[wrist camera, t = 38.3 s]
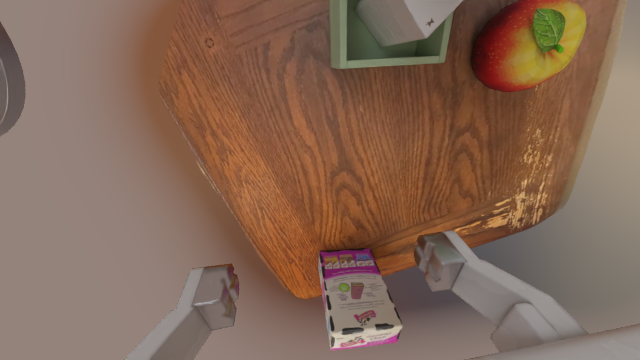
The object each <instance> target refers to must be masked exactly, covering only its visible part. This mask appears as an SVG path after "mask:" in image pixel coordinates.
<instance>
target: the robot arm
mask: <svg viewBox="0 0 640 360" xmlns="http://www.w3.org/2000/svg"><path fill="white" fill-rule="evenodd" d="M417 242H418V245H417V246H416V247H415V250H414V258H415V261H416V264H417V266H418V267H419V269H420V270H422V271H423V272H425V277H424V278H425V279H426V281H427V283H428V285H429V287H430V288H431V290H432V291H433V292H434V291H441V290H447V289H452V291H453V292H454V293H456V294H457V295H458V296H459V297H461V298H462V299H463V300H464V301H466V302H467V303H468V304H470V305H471V306H472V307H473V308H475V309H476V310H477V311H478V312H480V313H481V314H482V315H483V316H485V317H486V318H487V319H488V320H490V321H491V322H492V323H493V324H495V325H496V326H497V328H496V329H495V330H494V331H493V333H492V334H491V340H492V341H493V343H494V344H495V346H496V347H497V349H498V350H499V352H500V353H495V354H491V355H486V356H481V357H476V358H471V359H467V360H640V324H636V325H631V326H626V327H621V328H616V329H612V330H607V331H602V332H597V333H592V334H589V333H587V332H586V330H584V329H583V328H582V327H581V326H580V325H579V324H578V323H577V322H576V321H575V320H574V319H573V318H572V317H571V316H570V315H569V314H568V313H567V312H566V311H565V310H564V309H563V308H562V307H561V306H560V305H559V304H558V303H557V302H556V301H555V300H554V299H553V298H552V297H551V296H549V295H548V294H546V293H544V292H542V291H540V290H538V289H536V288H535V287H533V286H531V285H529V284H527V283H525V282H523V281H522V280H520V279H518V278H516V277H514V276H512V275H510V274H509V273H506V272H505V271H503V270H501V269H499V268H497V267H495V266H494V265H492V264H490V263H488V262H486V261H484V260H479V259H478V258H477V256H476V255H475V254H474V253H473V252H472V251H471V249H470V248H469V247H468V246H467V245H466V244H465V242H464V241H463V240H462V239H461V238H460V237H459V236H458V234H457V233H456V232H454V231H453V230H452V231H445V232H437V233H431V234H425V235H420V236H419V237H418V239H417ZM233 271H234V267H233V265H232V264H224V265H217V266H208V267H200V268H193V269H192V270H191V271H190V272H189V274H188V277H187V280H186V283H185V285H184V288H183V291H182V293H181V296H180V299H179V302H178V304H177V307H176V310H172V311H171V312H169V314H168V315H167V316H166V317H165V318H164V319H163V320H162V321H161V322H160V323H159V324H158V325H157V326H156V327H155V328H154V329H153V330H152V331H151V332H150V333H149V334H148V335H147V337H145V339H144V340H143V341H142V342H141V343H140V344H139V345H138V346H137V347H136V348H135V349H134V350H133V351H132V352H131V353H130V354H129V355H128V356H127V357H126V358H125V359H124V360H194V358H195V357H196V355H197V354H198V352H199V350H200V349H201V347H202V346H203V345H204V343H205V342H206V340H207V338H208V337H209V335H210V334H211V331H212V330H217V329H222V328H227V327H232V326H234V321H235V315H236V307H235V305H234V302H235V301H236V300H237V299H238V295H239V281H238V277H237V275H236V274H234V273H233Z"/></svg>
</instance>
